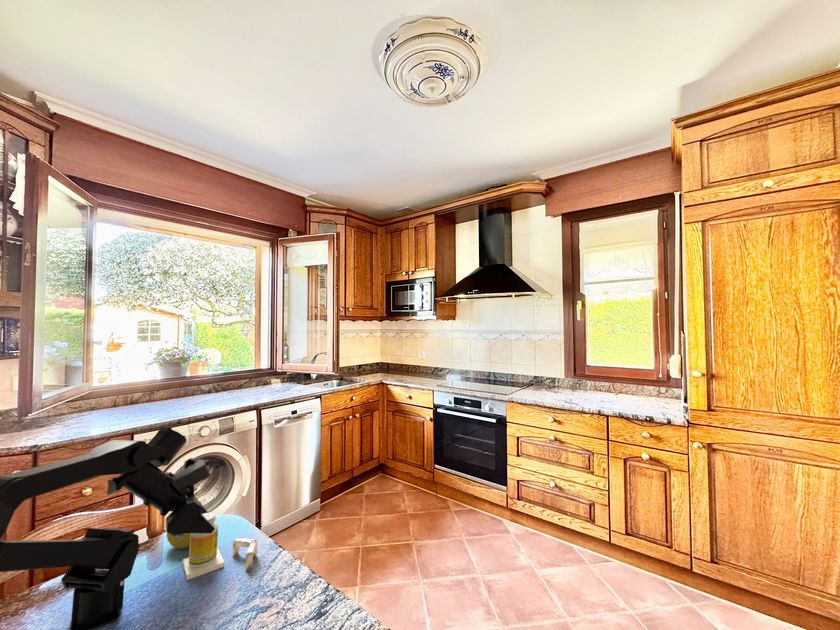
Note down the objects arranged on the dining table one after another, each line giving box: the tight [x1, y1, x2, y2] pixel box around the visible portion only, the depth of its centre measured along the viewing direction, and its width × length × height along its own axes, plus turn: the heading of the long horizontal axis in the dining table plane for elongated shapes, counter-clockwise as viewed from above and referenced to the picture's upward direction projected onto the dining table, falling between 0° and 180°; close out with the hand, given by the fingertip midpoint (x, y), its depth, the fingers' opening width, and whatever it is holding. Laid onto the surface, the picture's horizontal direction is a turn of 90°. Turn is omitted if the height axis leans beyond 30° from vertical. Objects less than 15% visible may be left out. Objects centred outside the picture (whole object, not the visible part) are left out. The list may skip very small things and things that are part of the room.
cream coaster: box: [182, 547, 225, 581], centre depth 78 cm, size 7×7×1 cm
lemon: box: [166, 531, 190, 550], centre depth 86 cm, size 11×8×8 cm
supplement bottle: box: [188, 512, 219, 568], centre depth 78 cm, size 5×5×10 cm
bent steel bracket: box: [231, 537, 258, 572], centre depth 80 cm, size 4×9×4 cm, turn 40°
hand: (209, 522), depth 79 cm, fingers open, 9 cm apart
